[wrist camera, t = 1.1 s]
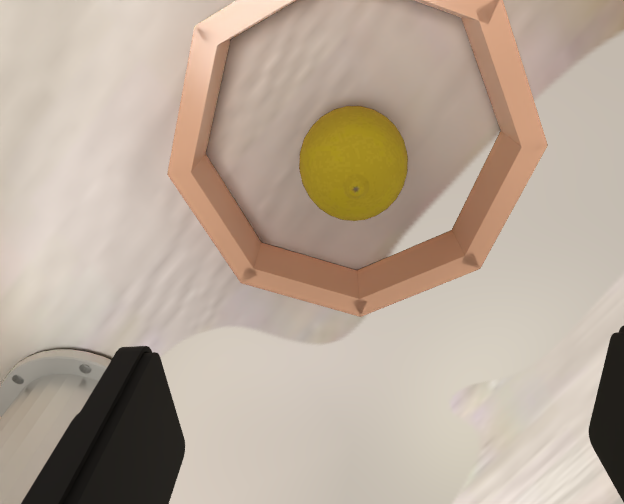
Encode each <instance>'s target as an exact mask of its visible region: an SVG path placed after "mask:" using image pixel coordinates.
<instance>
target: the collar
mask: <svg viewBox="0 0 624 504" xmlns="http://www.w3.org/2000/svg"><path fill="white" fill-rule="evenodd" d="M295 1H296V0H236V1H235V2H233V3H231V4H230V5H228V6H226V7H225V8H223V9H222V10H220V11H218V12H217V13H215V14H213V15H212V16H210V17H208V18H207V19H205V20H204V21H202V22H200V23H199V24H197V25H195V26H194V31H193V37H192V42H191V48H190V53H189V59H188V64H187V70H186V75H185V81H184V86H183V92H182V97H181V102H180V108H179V113H178V119H177V124H176V130H175V135H174V141H173V146H172V152H171V157H170V163H169V168H168V176H169V177H170V179H171V180H172V182H173V183H174V185H175V186H176V188H177V189H178V191H179V192H180V194H181V195H182V197H183V198H184V200H185V201H186V203H187V204H188V205H189V207H190V208H191V210H192V211H193V213H194V214H195V216H196V217H197V219H198V220H199V222H200V223H201V225H202V226H203V228H204V229H205V231H206V232H207V234H208V235H209V237H210V238H211V240H212V241H213V242H214V244H215V245H216V247H217V248H218V250H219V251H220V253H221V254H222V256H223V257H224V259H225V260H226V262H227V263H228V265H229V266H230V268H231V269H232V271H233V272H234V274H235V275H236V276H237V278H238V279H239V281H240V282H241V283H243V284H246V285H250V286H253V287H257V288H261V289H264V290H268V291H271V292H275V293H278V294H282V295H285V296H289V297H292V298H296V299H299V300H303V301H307V302H310V303H314V304H317V305H321V306H324V307H328V308H331V309H335V310H338V311H342V312H345V313H349V314H353V315H356V316H360V317H361V316H364V315H366V314H369V313H371V312H374V311H376V310H379V309H381V308H384V307H386V306H389V305H391V304H394V303H396V302H398V301H401V300H404V299H406V298H408V297H411V296H414V295H416V294H419V293H421V292H423V291H426V290H429V289H431V288H433V287H436V286H438V285H441V284H443V283H446V282H448V281H451V280H453V279H456V278H458V277H461V276H463V275H466V274H468V273H471V272H473V271H476V270H478V269H480V268H481V266H482V264H483V263H484V261H485V259H486V257H487V255H488V253H489V251H490V250H491V248H492V246H493V244H494V243H495V241H496V239H497V237H498V235H499V233H500V232H501V230H502V228H503V226H504V224H505V222H506V221H507V219H508V217H509V215H510V213H511V212H512V210H513V208H514V206H515V204H516V202H517V201H518V199H519V197H520V195H521V193H522V191H523V189H524V188H525V186H526V184H527V182H528V180H529V179H530V177H531V175H532V173H533V171H534V169H535V168H536V166H537V164H538V162H539V160H540V158H541V157H542V155H543V153H544V151H545V149H546V148H547V146H548V144H547V141H546V138H545V135H544V132H543V128H542V125H541V122H540V119H539V116H538V112H537V109H536V106H535V103H534V100H533V96H532V93H531V90H530V87H529V83H528V80H527V77H526V74H525V71H524V67H523V64H522V61H521V58H520V55H519V51H518V48H517V45H516V42H515V39H514V35H513V32H512V29H511V26H510V22H509V19H508V16H507V13H506V10H505V6H504V3H503V0H414V1H417V2H419V3H422V4H425V5H428V6H430V7H433V8H436V9H439V10H442V11H444V12H447V13H450V14H453V15H455V16H458V17H461V18H462V21H463V24H464V27H465V30H466V33H467V36H468V38H469V41H470V44H471V47H472V50H473V53H474V56H475V59H476V61H477V64H478V67H479V70H480V73H481V76H482V79H483V81H484V84H485V87H486V90H487V93H488V96H489V99H490V101H491V104H492V107H493V110H494V113H495V116H496V119H497V121H498V124H499V127H500V130H501V131H500V133H499V135H498V137H497V139H496V141H495V143H494V145H493V147H492V150H491V151H490V153H489V155H488V158H487V160H486V162H485V164H484V166H483V168H482V170H481V172H480V174H479V176H478V178H477V180H476V182H475V184H474V186H473V188H472V190H471V192H470V194H469V196H468V198H467V200H466V202H465V204H464V206H463V208H462V210H461V213H460V214H459V216H458V218H457V220H456V222H455V224H454V226H453V228H452V230H451V231H449V232H446V233H444V234H441V235H439V236H436V237H435V238H432V239H430V240H427V241H425V242H422V243H420V244H418V245H415V246H413V247H411V248H409V249H406V250H404V251H402V252H399V253H397V254H394V255H392V256H390V257H387V258H385V259H383V260H380V261H378V262H376V263H373V264H371V265H369V266H366V267H364V268H362V269H359V270H354V269H350V268H347V267H343V266H340V265H337V264H333V263H330V262H326V261H323V260H320V259H316V258H313V257H309V256H306V255H302V254H299V253H296V252H292V251H289V250H285V249H282V248H279V247H275V246H272V245H268V244H265V243H262V242H261V241H260V240H259V238H258V236H257V235H256V233H255V232H254V230H253V228H252V227H251V225H250V224H249V222H248V221H247V219H246V217H245V216H244V214H243V213H242V211H241V209H240V208H239V206H238V205H237V203H236V201H235V200H234V198H233V197H232V195H231V193H230V192H229V190H228V189H227V187H226V186H225V184H224V182H223V181H222V179H221V178H220V176H219V174H218V173H217V171H216V170H215V168H214V166H213V165H212V163H211V162H210V160H209V158H208V157H207V155H206V150H207V145H208V141H209V136H210V132H211V127H212V122H213V118H214V113H215V109H216V104H217V99H218V95H219V90H220V85H221V81H222V76H223V72H224V67H225V62H226V58H227V53H228V49H229V44H230V40H231V39H232V38H234V37H236V36H237V35H239V34H241V33H242V32H244V31H246V30H247V29H249V28H251V27H253V26H254V25H256V24H258V23H259V22H261V21H263V20H264V19H266V18H268V17H269V16H271V15H273V14H275V13H276V12H278V11H280V10H281V9H283V8H285V7H286V6H288V5H290V4H291V3H293V2H295Z"/></svg>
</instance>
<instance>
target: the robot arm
mask: <svg viewBox="0 0 624 504" xmlns="http://www.w3.org/2000/svg"><path fill="white" fill-rule="evenodd" d="M0 417H1V418H0V504H169V501H170V498H171V494H172V491H173V488H174V485H175V482H176V479H177V476H178V473H179V470H180V467H181V464H182V460H183V457H184V452H185V440H184V436H183V433H182V430H181V427H180V423H179V420H178V416H177V413H176V410H175V406H174V403H173V400H172V396H171V393H170V389H169V386H168V382H167V379H166V376H165V373H164V369H163V366H162V362H161V359H160V356H159V354H158V353H152V351H151V349H150V348H149V347H147V346H139V347H122V348H119V350H118V351H117V352H116V354H115V355H114V357H113V359H112V360H110V359H108V358H106V357H103V356H100V355H97V354H93V353H90V352H85V351H78V350H72V349H55V350H49V351H43V352H39V353H37V354H34V355H31V356H29V357H27V358H25V359H24V360H22V361H21V362H19V363H18V364H17V365H16V366H15V367H14V368H13V369H12V370H11V371H10V372H9V373H8V374H7V376H6V377H5V379H4V380H3V382H2V383H1V386H0ZM589 437H590V441H591V444H592V446H593V449H594V450H595V452H596V454H597V456H598V457H599V459H600V461H601V463H602V465H603V466H604V468H605V470H606V472H607V473H608V475H609V477H610V479H611V481H612V482H613V484H614V486H615V488H616V489H617V491H618V493H619V495H620V497H621V498H622V500H623V502H624V326H622V327H621V328H620V330H619V333H614V334H613V335H612V336H611V339H610V343H609V347H608V351H607V355H606V359H605V363H604V368H603V372H602V376H601V380H600V384H599V388H598V392H597V397H596V401H595V405H594V409H593V413H592V417H591V421H590V426H589Z"/></svg>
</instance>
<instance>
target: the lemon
mask: <svg viewBox="0 0 624 504" xmlns="http://www.w3.org/2000/svg"><path fill="white" fill-rule="evenodd" d="M407 162H408V156H407V151H406V147H405V144H404V140H403V138H402V136H401V135H400V133H399V131H398V130H397V128H396V126H395V125H394V124H393V123H392V122H391V121H390V120H389V119H388V118H387V117H385V116H384V115H382V114H380V113H379V112H377V111H375V110H373V109H369V108H365V107H361V106H346V107H342V108H338V109H335V110H333V111H331V112H329V113H327V114H326V115H324V116H322V117H321V118H320V119H319V120H318V121H317V122H316V123H315V124H314V125H313V126H312V127H311V129H310V130H309V132H308V133H307V135H306V137H305V138H304V141H303V145H302V148H301V151H300V164H299V169H300V174H301V178H302V183H303V185H304V187H305V189H306V191H307V193H308V195H309V197H310V198H311V199H312V201H313V202H314V203H315V204H316V205H317V206H318V207H319V208H320V209H321V210H323V211H324V212H326V213H327V214H329V215H331V216H333V217H336V218H339V219H342V220H351V221H357V220H365V219H368V218H371V217H374V216H376V215H378V214H379V213H381V212H383V211H384V210H386V209H387V208H388V207H389V206H390V205H391V204H392V203H393V202H394V201H395V200H396V198H397V197H398V195H399V193H400V191H401V190H402V188H403V186H404V182H405V178H406V175H407Z"/></svg>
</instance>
